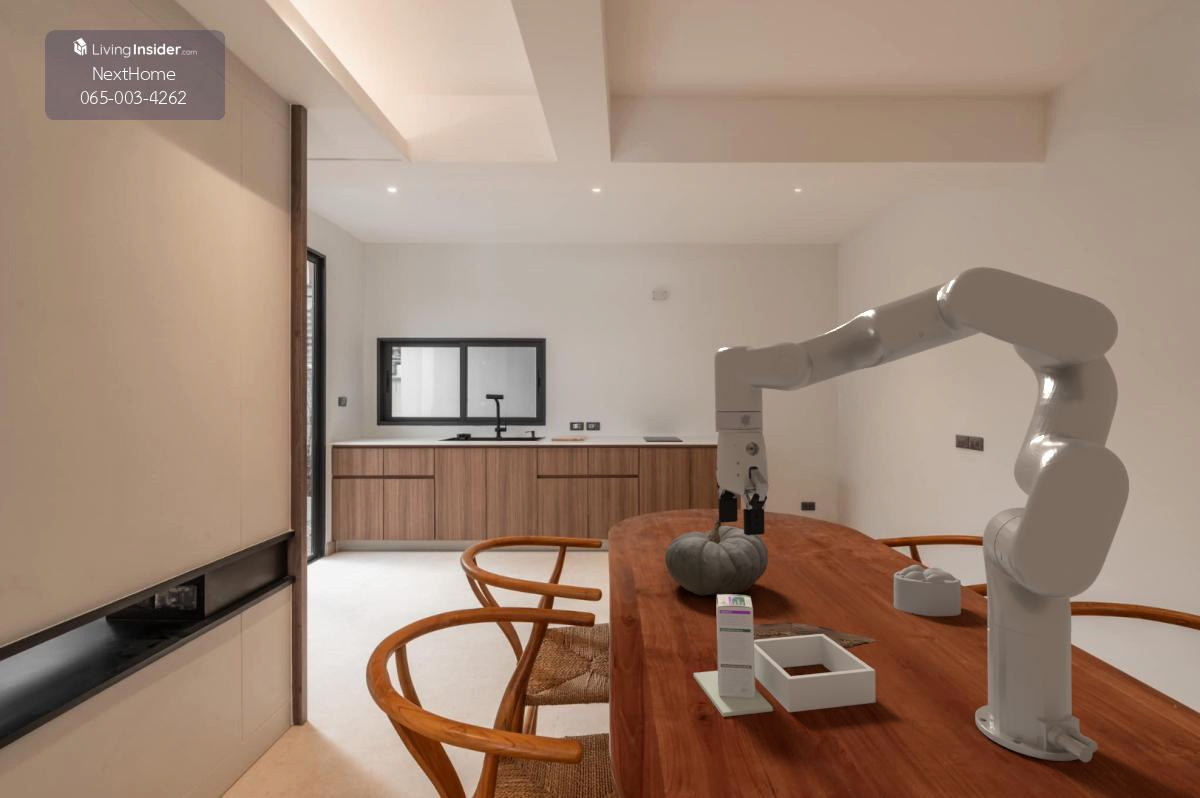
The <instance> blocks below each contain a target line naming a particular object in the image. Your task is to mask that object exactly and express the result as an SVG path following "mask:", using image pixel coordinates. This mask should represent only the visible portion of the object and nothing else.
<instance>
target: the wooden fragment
mask: <svg viewBox="0 0 1200 798" xmlns="http://www.w3.org/2000/svg"><path fill="white" fill-rule="evenodd" d="M753 629H754V640H758V639H770V638H781V637H792V636H803V635H815V634H824V635H826V636H827V637H828V638H830V639H831V640H833V641H834V642H836V643H837V644H838V645H840V646H841V647H843V648H844V649H846V648H851V647H854V646H857V645H860V644H865V643H867V644H871V643H872V644H873V643H875V642H877V639H874V638H871V637H870V638H869V637H865V636H862V635H856V634H852V633H848V632H842V631H838V630H834V629H831V628H827V627H822V626H818V625H817V626H816V625H810V624H804V623H801V622H799V623H798V622H788V621H787V622H774V623H765V624H764V623H763V624H753Z"/></svg>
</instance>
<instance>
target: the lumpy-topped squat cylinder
mask: <svg viewBox="0 0 1200 798" xmlns="http://www.w3.org/2000/svg"><path fill="white" fill-rule="evenodd" d="M961 586H962V585H961V579H959V578H957V577H955V576H954V575H953V574H951V573H949V572H947V571H944V570H942V569H941V568H939V567H930V568H926V569H925V568H924V567H923V566H921V565H920V564H912V565H910V566H908V567H904V568H903V569H902V570H899V571H896V572H894V575H893V608H895V609H897V610H898V611H901V612H904V613H908V614H912V613H913V614H912V615H919V616H924V617H925V616H926V617H951V616H952V617H953V616H959V615H961V614H962V589H961Z"/></svg>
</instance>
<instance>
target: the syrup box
mask: <svg viewBox="0 0 1200 798" xmlns="http://www.w3.org/2000/svg"><path fill="white" fill-rule="evenodd" d="M715 607H716V650H717V671H718V687H719V696H723V697H731V698H745V699H755V688H756V678H755V658H754V640H755V638H754V629H753V625H754V608H753V607H754V606H753V603H752V598H751V596H750V595H745V594H737V593H735V594H733V593H729V594H716V606H715Z"/></svg>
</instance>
